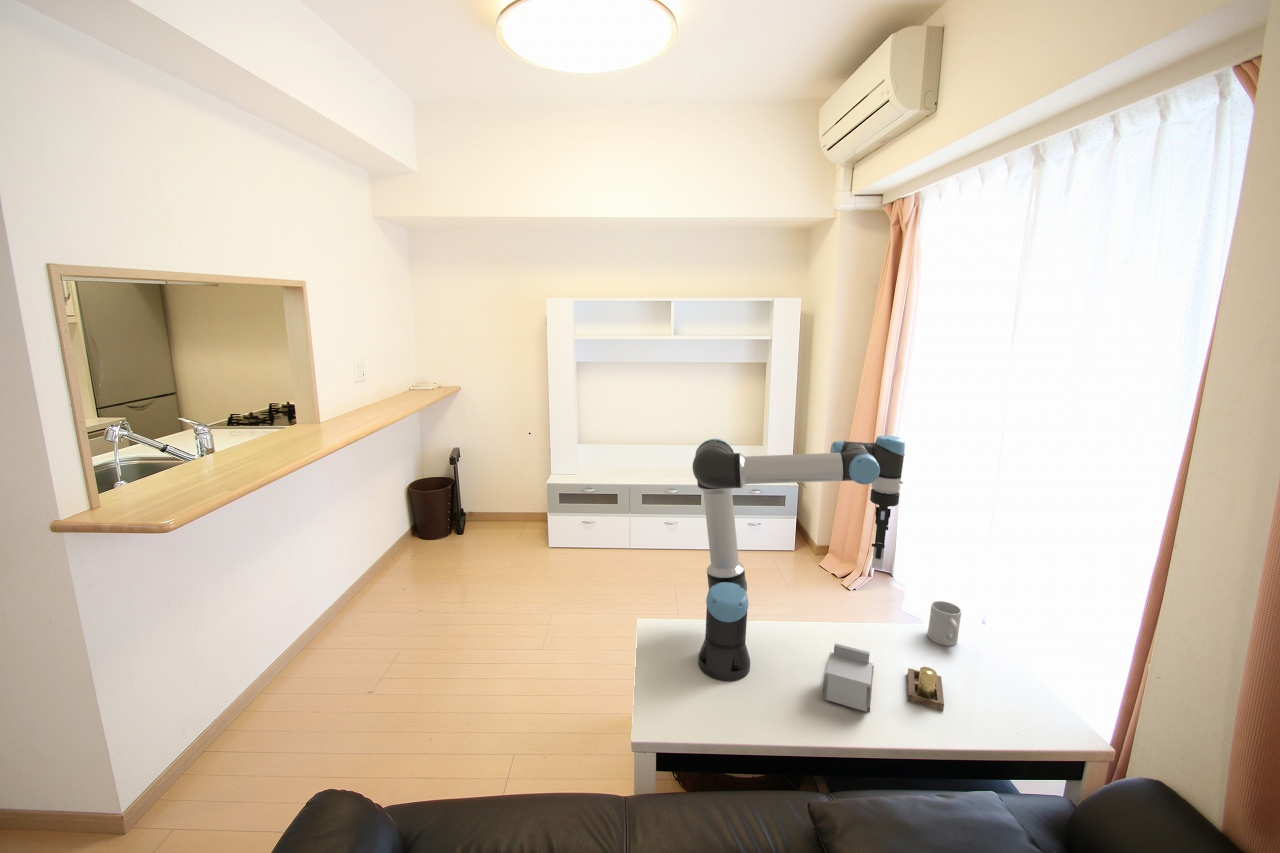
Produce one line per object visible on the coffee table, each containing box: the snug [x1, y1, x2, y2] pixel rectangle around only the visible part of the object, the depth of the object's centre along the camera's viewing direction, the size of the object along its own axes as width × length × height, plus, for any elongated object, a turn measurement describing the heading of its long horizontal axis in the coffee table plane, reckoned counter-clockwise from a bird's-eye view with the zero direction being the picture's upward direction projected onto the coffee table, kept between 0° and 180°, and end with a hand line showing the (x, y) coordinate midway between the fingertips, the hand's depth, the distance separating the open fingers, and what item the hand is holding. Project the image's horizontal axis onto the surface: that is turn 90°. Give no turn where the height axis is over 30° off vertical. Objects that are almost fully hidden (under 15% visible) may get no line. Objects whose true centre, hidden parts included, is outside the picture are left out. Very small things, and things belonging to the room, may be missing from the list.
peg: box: [917, 666, 938, 700], centre depth 148 cm, size 4×4×8 cm
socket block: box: [907, 667, 945, 712], centre depth 151 cm, size 8×13×2 cm, turn 155°
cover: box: [822, 643, 874, 713], centre depth 147 cm, size 11×10×11 cm
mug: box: [927, 600, 962, 647], centre depth 175 cm, size 12×8×11 cm
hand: (877, 559), depth 161 cm, fingers open, 13 cm apart
